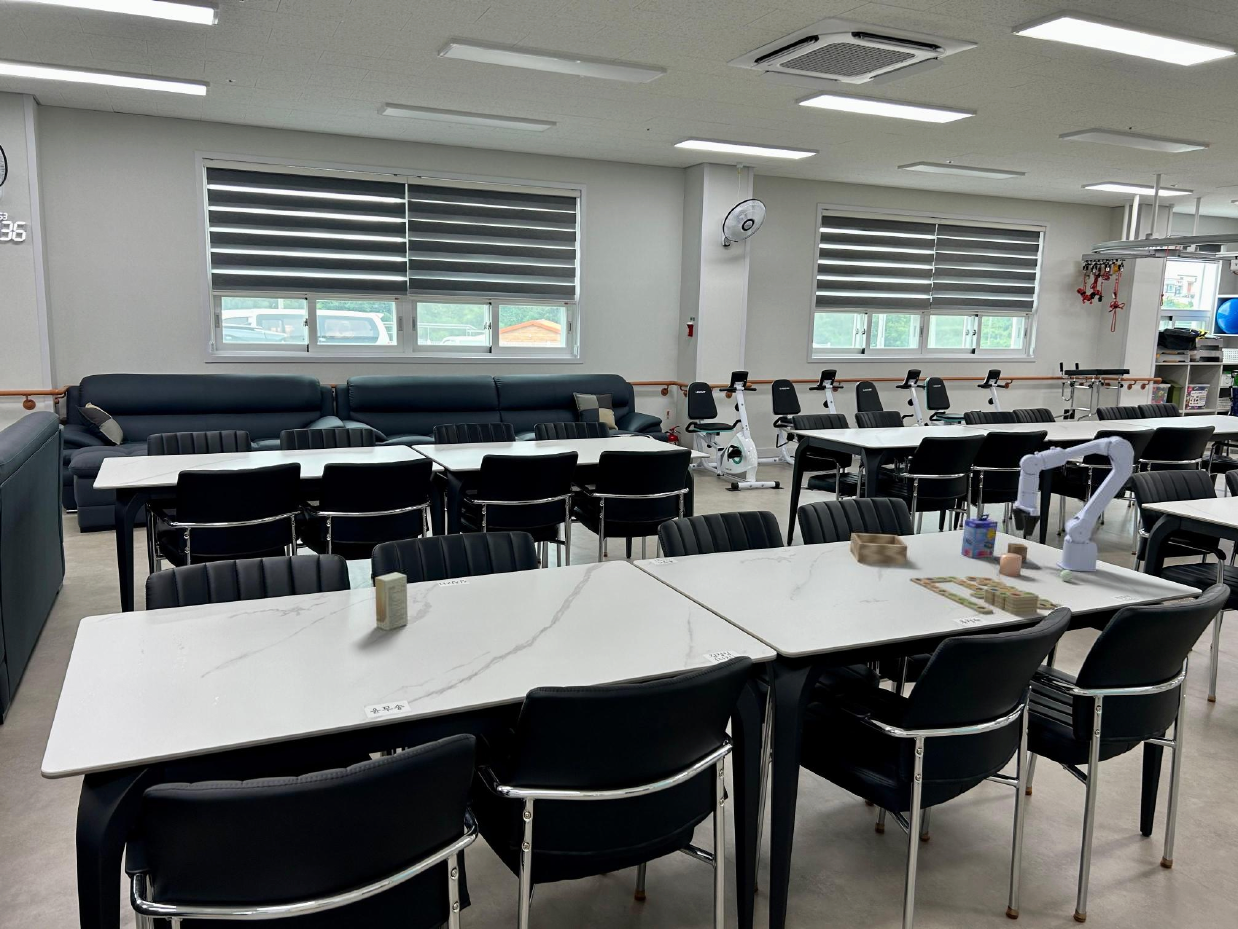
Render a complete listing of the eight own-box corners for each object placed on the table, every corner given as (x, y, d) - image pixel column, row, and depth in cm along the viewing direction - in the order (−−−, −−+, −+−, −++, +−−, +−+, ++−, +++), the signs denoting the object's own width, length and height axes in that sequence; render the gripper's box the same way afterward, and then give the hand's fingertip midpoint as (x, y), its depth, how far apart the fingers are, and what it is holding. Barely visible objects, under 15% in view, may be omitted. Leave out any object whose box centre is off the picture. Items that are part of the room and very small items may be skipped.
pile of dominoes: (1070, 612, 238) (1073, 593, 238) (988, 619, 230) (990, 599, 229) (982, 577, 271) (984, 559, 270) (907, 581, 263) (909, 563, 262)
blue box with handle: (972, 558, 291) (977, 516, 289) (960, 554, 296) (964, 512, 294) (994, 556, 295) (999, 514, 293) (982, 552, 300) (986, 510, 298)
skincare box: (397, 620, 213) (396, 571, 211) (408, 624, 210) (408, 575, 208) (374, 626, 208) (374, 576, 206) (385, 631, 205) (385, 580, 203)
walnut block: (1020, 560, 289) (1022, 543, 288) (1025, 563, 284) (1027, 547, 283) (1006, 559, 289) (1008, 543, 288) (1011, 563, 284) (1013, 546, 284)
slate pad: (1028, 560, 292) (1028, 558, 291) (1040, 568, 281) (1040, 567, 281) (993, 558, 292) (993, 556, 292) (1005, 566, 282) (1005, 565, 282)
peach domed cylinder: (1016, 572, 276) (1018, 553, 275) (1022, 577, 270) (1024, 558, 269) (996, 571, 277) (998, 552, 276) (1002, 576, 271) (1004, 557, 270)
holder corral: (895, 552, 295) (896, 535, 294) (905, 564, 280) (907, 546, 279) (850, 550, 296) (851, 533, 296) (857, 562, 282) (859, 543, 281)
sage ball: (1069, 580, 269) (1071, 568, 268) (1074, 583, 265) (1075, 572, 265) (1057, 579, 269) (1059, 568, 269) (1062, 582, 266) (1063, 571, 265)
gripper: (1007, 487, 292) (1003, 527, 294) (1023, 495, 278) (1019, 537, 280) (1029, 488, 291) (1025, 528, 294) (1046, 496, 277) (1042, 538, 279)
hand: (1023, 533), depth 287 cm, fingers open, 7 cm apart
